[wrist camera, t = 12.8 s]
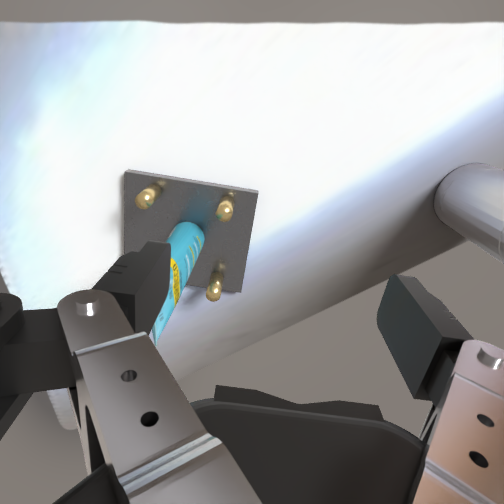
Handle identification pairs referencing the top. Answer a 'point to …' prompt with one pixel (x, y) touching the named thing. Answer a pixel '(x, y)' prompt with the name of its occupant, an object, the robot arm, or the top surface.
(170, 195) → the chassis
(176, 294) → the tube
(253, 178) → the top surface
